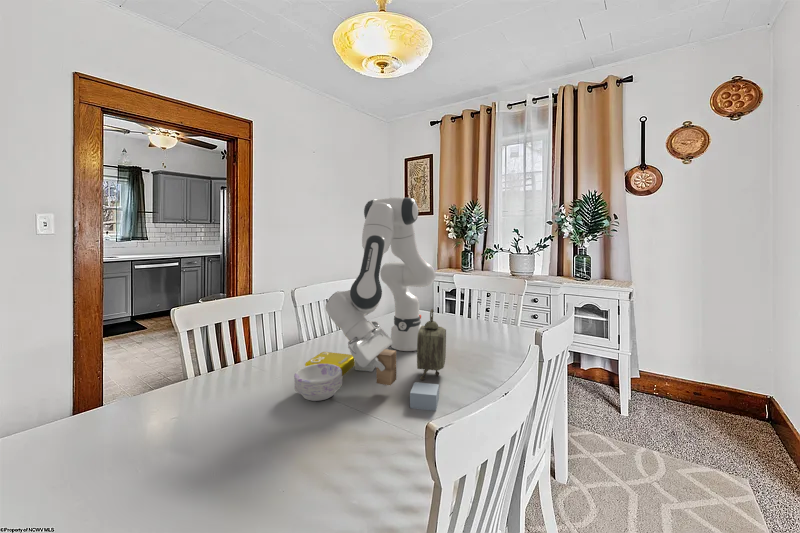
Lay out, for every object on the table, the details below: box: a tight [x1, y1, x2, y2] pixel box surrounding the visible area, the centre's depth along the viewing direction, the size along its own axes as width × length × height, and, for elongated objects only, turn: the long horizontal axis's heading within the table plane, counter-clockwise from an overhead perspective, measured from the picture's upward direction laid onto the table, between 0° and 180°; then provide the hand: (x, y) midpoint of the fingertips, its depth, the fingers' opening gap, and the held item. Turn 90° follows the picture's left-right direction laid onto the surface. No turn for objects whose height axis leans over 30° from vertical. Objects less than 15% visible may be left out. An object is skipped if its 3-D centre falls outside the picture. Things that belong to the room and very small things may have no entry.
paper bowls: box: [293, 364, 343, 402], centre depth 121 cm, size 15×15×8 cm
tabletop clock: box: [416, 308, 447, 381], centre depth 136 cm, size 14×9×25 cm, turn 168°
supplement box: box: [354, 359, 376, 372], centre depth 144 cm, size 7×7×13 cm
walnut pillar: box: [375, 348, 397, 386], centre depth 122 cm, size 5×5×10 cm
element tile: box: [304, 351, 355, 377], centre depth 143 cm, size 15×15×5 cm
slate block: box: [409, 381, 440, 412], centre depth 115 cm, size 8×8×5 cm
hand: (388, 365), depth 121 cm, fingers closed on walnut pillar, 5 cm apart
